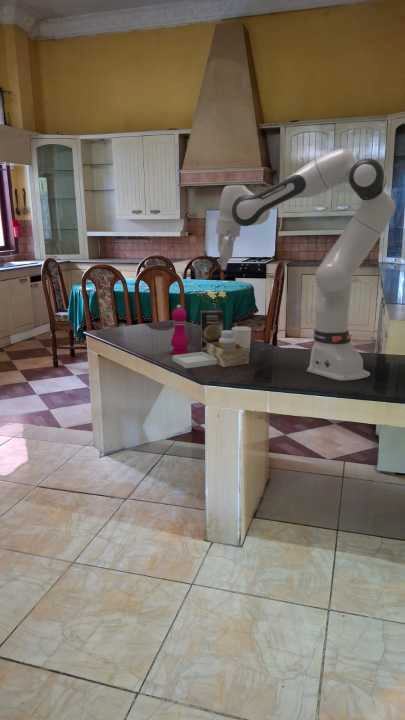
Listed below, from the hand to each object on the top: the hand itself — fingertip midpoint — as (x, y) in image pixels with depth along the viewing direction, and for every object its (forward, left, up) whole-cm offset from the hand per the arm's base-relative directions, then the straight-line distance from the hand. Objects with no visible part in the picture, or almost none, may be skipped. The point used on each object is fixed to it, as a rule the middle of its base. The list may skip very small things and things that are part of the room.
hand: (222, 267), depth 200 cm
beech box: (-3, 0, -35) cm, 35 cm away
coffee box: (+18, -4, -36) cm, 40 cm away
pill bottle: (-3, 0, -36) cm, 36 cm away
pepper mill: (+17, +11, -36) cm, 41 cm away
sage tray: (+1, +12, -35) cm, 37 cm away
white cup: (+7, -12, -36) cm, 38 cm away
